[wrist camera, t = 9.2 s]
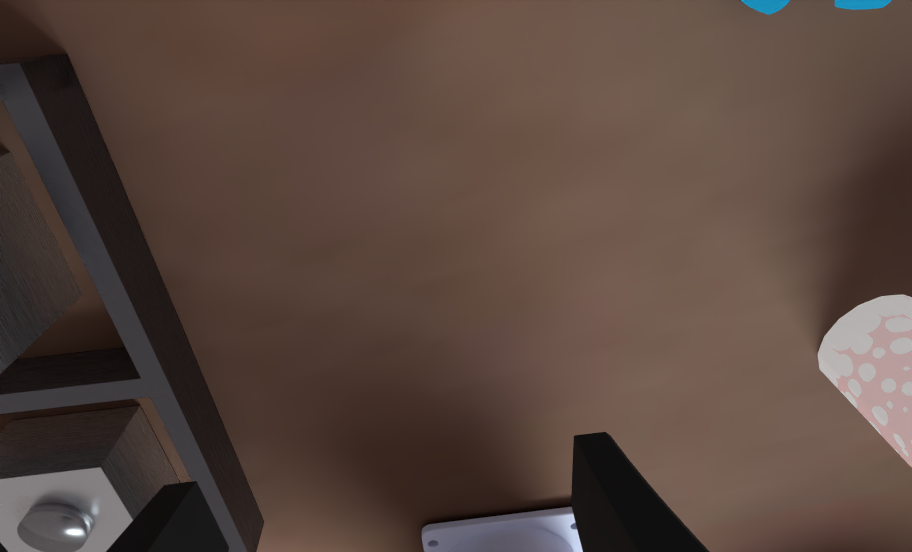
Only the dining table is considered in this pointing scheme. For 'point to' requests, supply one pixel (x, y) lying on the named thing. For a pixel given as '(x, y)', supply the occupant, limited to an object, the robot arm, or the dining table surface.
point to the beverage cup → (875, 365)
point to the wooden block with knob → (77, 479)
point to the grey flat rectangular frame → (116, 297)
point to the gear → (770, 3)
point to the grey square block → (28, 268)
